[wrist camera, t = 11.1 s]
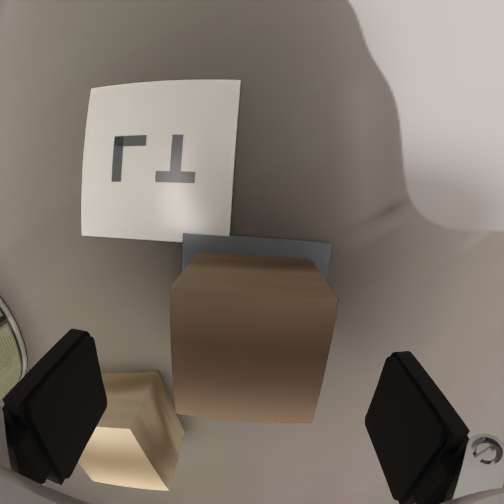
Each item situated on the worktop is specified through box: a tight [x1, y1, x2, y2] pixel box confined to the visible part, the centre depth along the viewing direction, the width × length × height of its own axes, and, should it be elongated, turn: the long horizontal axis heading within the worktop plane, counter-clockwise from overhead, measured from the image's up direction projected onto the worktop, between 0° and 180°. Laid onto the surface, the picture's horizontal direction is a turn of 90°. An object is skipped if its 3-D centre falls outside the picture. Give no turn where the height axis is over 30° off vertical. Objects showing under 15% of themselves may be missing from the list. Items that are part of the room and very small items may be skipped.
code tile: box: [81, 80, 241, 242], centre depth 16 cm, size 9×9×1 cm
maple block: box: [78, 370, 185, 491], centre depth 17 cm, size 6×6×6 cm
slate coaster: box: [182, 233, 332, 281], centre depth 17 cm, size 8×8×1 cm
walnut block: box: [170, 251, 339, 423], centre depth 14 cm, size 6×6×6 cm
